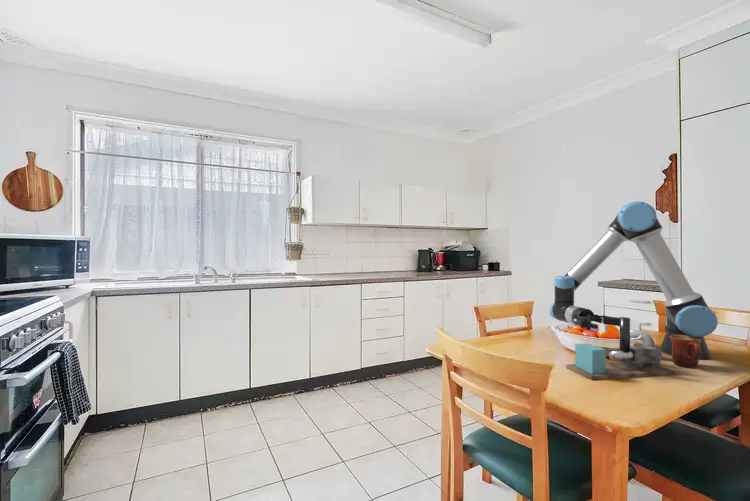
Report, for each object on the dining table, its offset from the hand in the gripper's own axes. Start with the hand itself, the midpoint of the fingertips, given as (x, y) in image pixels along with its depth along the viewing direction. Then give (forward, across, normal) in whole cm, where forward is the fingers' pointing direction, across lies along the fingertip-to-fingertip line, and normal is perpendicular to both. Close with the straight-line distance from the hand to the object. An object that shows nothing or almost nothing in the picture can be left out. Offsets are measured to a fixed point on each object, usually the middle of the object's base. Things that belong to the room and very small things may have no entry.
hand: (623, 328), depth 127 cm
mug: (0, -26, -15) cm, 31 cm away
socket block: (0, +13, -14) cm, 19 cm away
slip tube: (0, -5, -11) cm, 12 cm away
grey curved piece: (-14, -20, -15) cm, 29 cm away
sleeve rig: (0, +2, -15) cm, 15 cm away
